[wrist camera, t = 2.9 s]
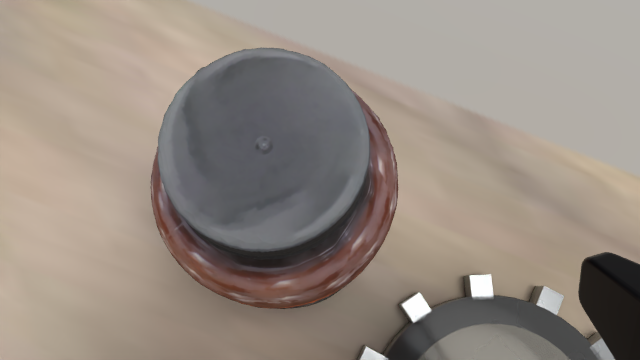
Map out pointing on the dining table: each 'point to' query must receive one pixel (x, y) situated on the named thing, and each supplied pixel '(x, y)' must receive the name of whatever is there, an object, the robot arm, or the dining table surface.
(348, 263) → the supplement bottle
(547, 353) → the sprocket plate
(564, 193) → the dining table surface
